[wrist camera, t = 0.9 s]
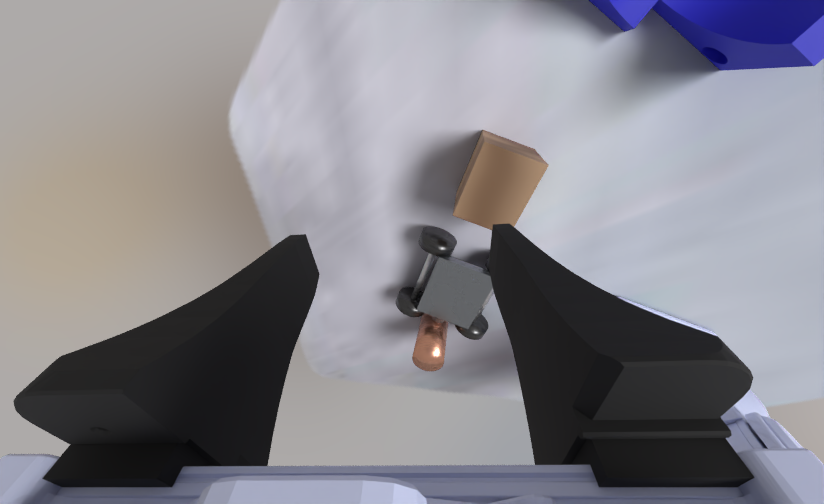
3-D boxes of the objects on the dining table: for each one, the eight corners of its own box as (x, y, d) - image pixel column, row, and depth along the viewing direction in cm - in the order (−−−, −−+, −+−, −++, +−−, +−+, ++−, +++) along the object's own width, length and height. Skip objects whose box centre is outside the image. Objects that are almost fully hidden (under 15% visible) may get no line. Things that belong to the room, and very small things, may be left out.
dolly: (522, 259, 26) (527, 278, 24) (483, 321, 30) (484, 344, 28) (425, 222, 26) (419, 238, 24) (399, 290, 30) (392, 309, 28)
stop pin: (474, 274, 27) (474, 310, 23) (442, 335, 32) (437, 375, 27) (446, 264, 27) (440, 297, 23) (417, 326, 32) (408, 364, 27)
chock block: (534, 149, 22) (548, 165, 18) (502, 209, 24) (508, 236, 20) (482, 129, 22) (484, 141, 18) (456, 192, 24) (452, 215, 20)
